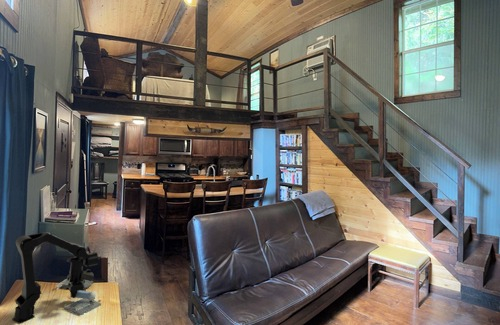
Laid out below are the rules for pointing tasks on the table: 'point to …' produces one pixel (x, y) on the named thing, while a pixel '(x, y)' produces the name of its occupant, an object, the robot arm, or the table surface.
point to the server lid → (82, 306)
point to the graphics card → (65, 283)
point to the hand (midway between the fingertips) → (73, 297)
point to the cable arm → (85, 295)
